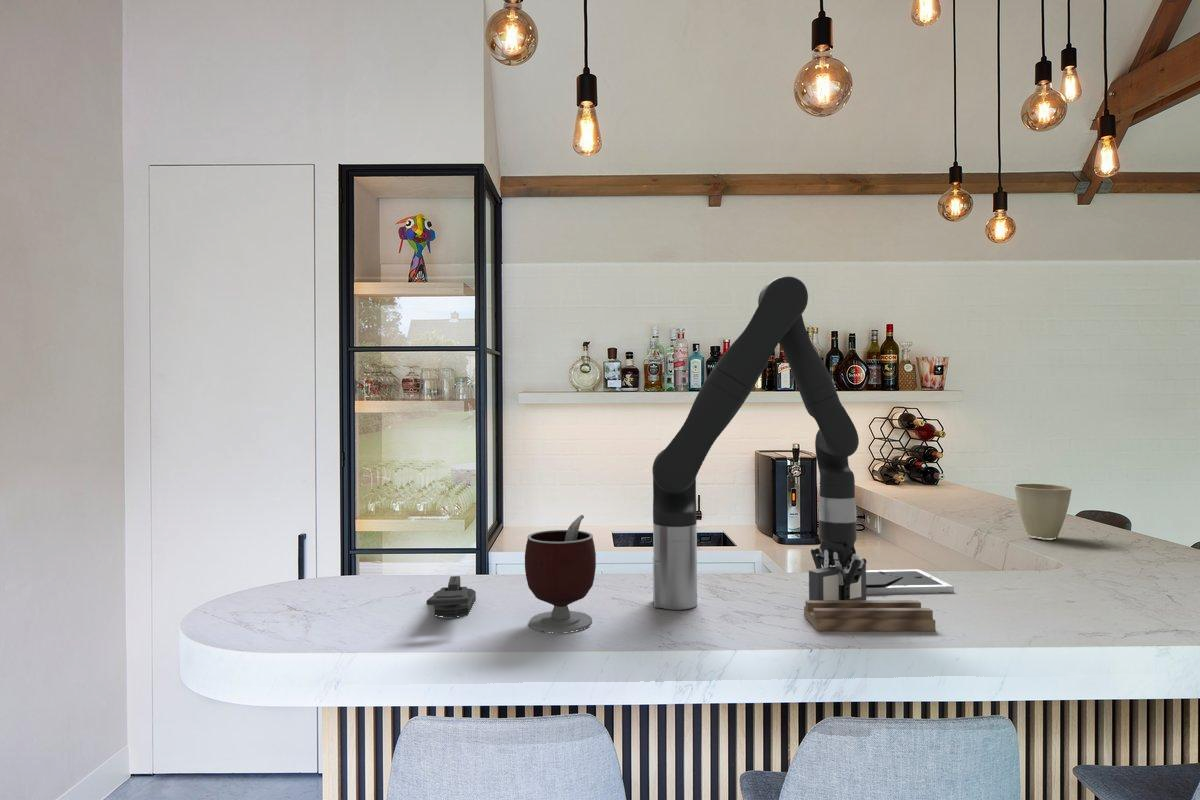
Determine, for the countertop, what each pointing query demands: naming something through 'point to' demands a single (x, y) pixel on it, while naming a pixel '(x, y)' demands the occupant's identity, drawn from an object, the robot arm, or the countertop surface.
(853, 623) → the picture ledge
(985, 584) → the countertop surface
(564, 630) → the mate gourd
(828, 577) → the grey photo frame
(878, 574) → the picture frame
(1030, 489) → the plant pot
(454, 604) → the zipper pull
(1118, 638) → the countertop surface
